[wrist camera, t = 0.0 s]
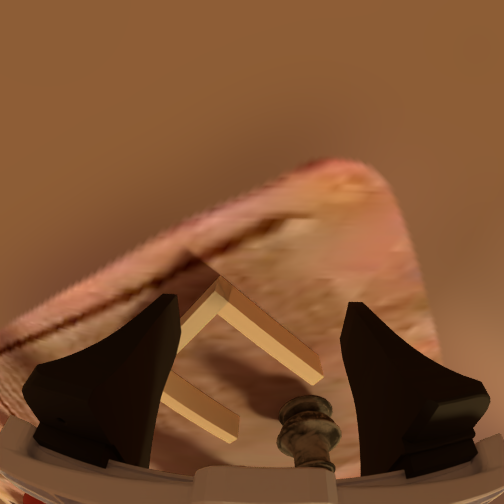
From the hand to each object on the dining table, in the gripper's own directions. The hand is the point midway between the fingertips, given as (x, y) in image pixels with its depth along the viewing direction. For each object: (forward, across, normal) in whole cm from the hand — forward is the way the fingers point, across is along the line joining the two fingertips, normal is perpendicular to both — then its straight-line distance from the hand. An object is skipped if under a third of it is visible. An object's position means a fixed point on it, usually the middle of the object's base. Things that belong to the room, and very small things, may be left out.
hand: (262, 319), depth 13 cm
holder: (+9, +3, +12) cm, 15 cm away
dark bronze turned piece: (+8, -5, +18) cm, 20 cm away
